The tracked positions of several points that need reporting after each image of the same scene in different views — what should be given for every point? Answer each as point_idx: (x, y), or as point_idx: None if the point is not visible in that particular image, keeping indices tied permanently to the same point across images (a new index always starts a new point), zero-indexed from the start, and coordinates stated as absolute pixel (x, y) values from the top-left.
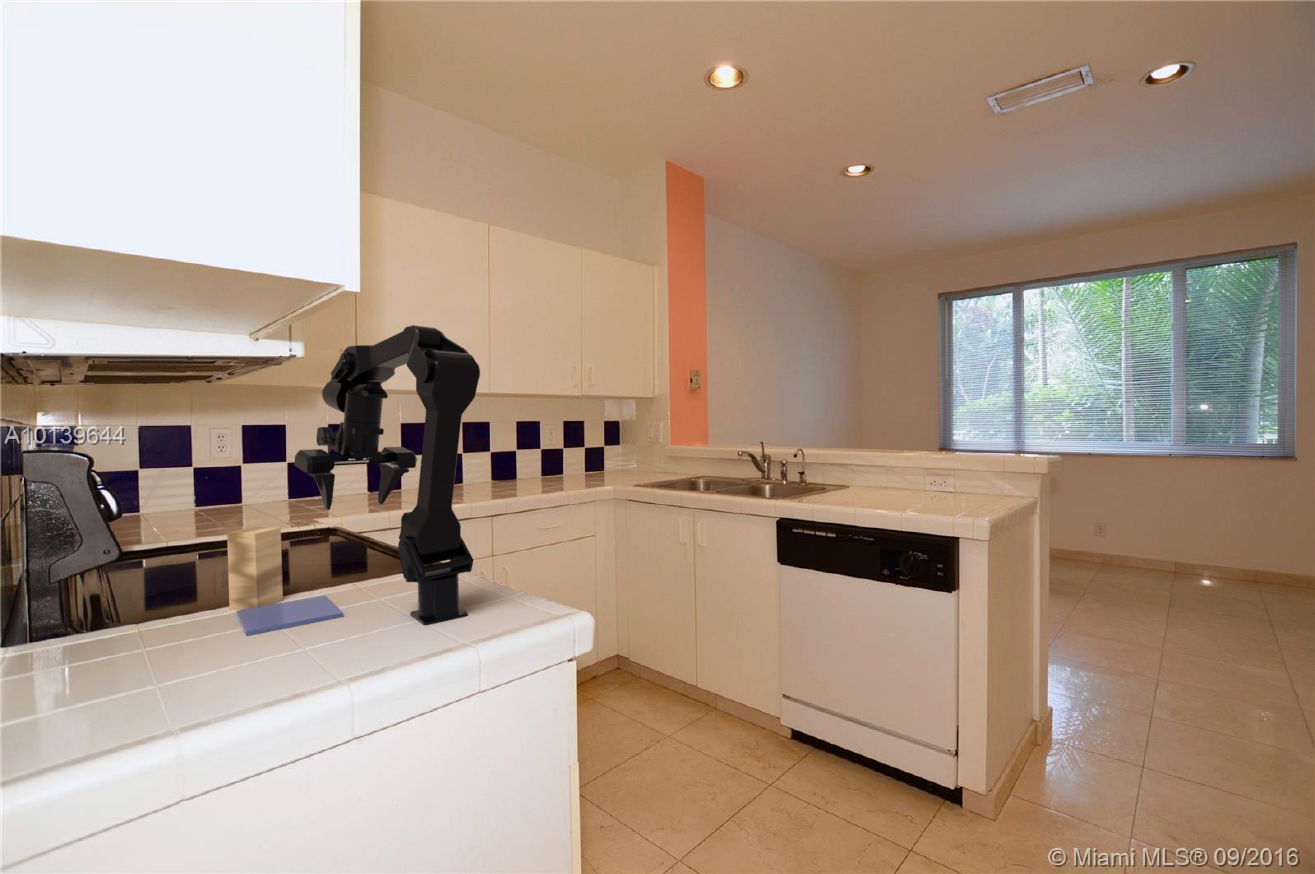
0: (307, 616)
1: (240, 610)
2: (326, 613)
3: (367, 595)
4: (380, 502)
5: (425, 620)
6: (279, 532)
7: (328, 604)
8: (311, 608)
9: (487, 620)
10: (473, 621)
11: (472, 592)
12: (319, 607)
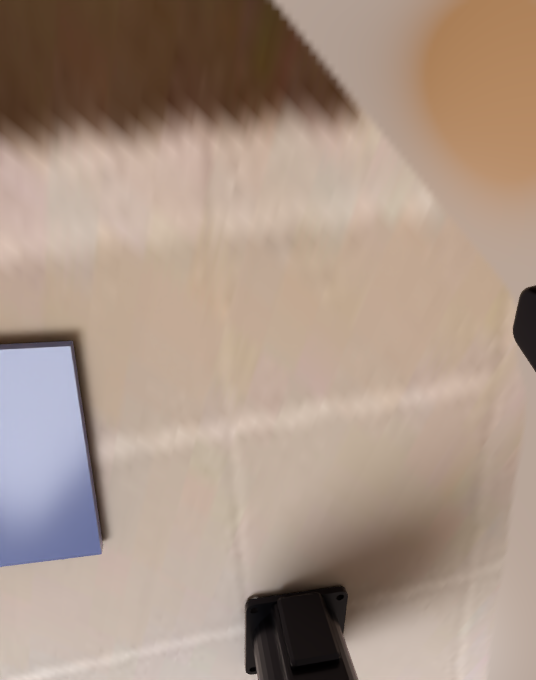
0: (6, 542)
1: None
2: (58, 541)
3: (209, 364)
4: (525, 337)
5: (252, 665)
6: None
7: (71, 463)
8: (18, 476)
9: None
10: None
11: (441, 502)
12: (42, 479)
